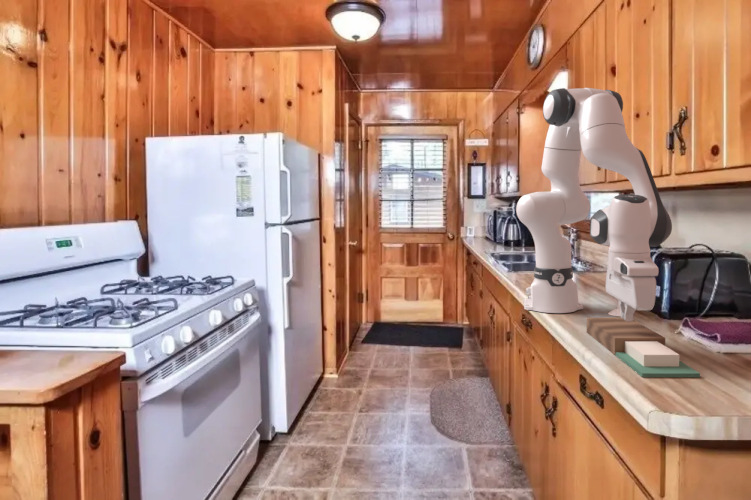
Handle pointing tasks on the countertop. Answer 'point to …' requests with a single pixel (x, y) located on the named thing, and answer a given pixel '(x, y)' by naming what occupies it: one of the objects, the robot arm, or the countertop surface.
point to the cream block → (651, 353)
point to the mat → (658, 368)
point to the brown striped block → (619, 333)
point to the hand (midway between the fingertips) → (626, 319)
